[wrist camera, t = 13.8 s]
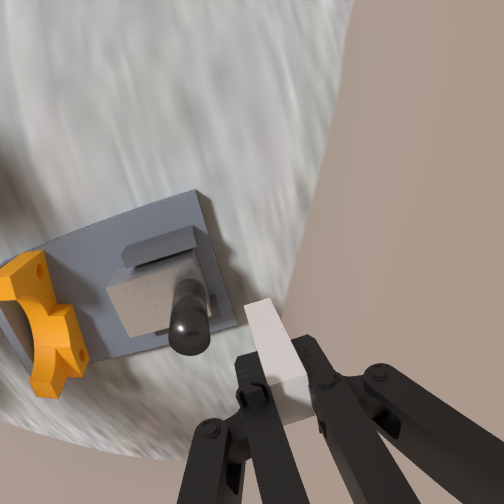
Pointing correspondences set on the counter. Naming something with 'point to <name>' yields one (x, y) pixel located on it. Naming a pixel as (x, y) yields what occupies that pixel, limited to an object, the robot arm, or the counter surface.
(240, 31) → the counter surface
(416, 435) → the robot arm
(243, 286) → the counter surface
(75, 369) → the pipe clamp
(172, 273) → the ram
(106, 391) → the counter surface
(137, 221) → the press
